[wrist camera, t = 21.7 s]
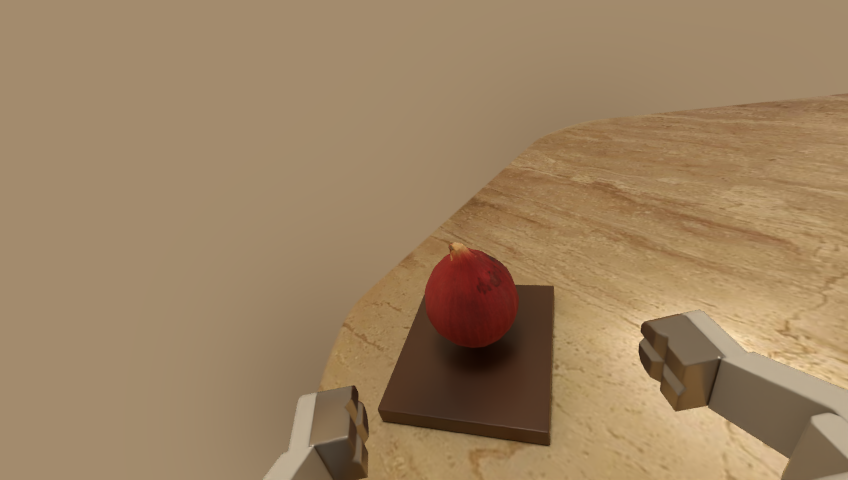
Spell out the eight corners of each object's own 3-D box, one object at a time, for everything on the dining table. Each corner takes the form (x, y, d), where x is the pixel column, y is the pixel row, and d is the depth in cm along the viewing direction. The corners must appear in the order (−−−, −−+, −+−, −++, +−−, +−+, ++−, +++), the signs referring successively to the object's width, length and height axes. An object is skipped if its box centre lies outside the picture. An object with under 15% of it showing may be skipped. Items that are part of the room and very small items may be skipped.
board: (382, 421, 25) (376, 409, 25) (431, 293, 35) (428, 282, 34) (549, 446, 22) (548, 433, 21) (554, 297, 31) (553, 285, 31)
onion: (510, 303, 30) (498, 209, 26) (533, 364, 25) (523, 260, 21) (433, 319, 30) (409, 228, 26) (441, 382, 25) (413, 283, 21)
